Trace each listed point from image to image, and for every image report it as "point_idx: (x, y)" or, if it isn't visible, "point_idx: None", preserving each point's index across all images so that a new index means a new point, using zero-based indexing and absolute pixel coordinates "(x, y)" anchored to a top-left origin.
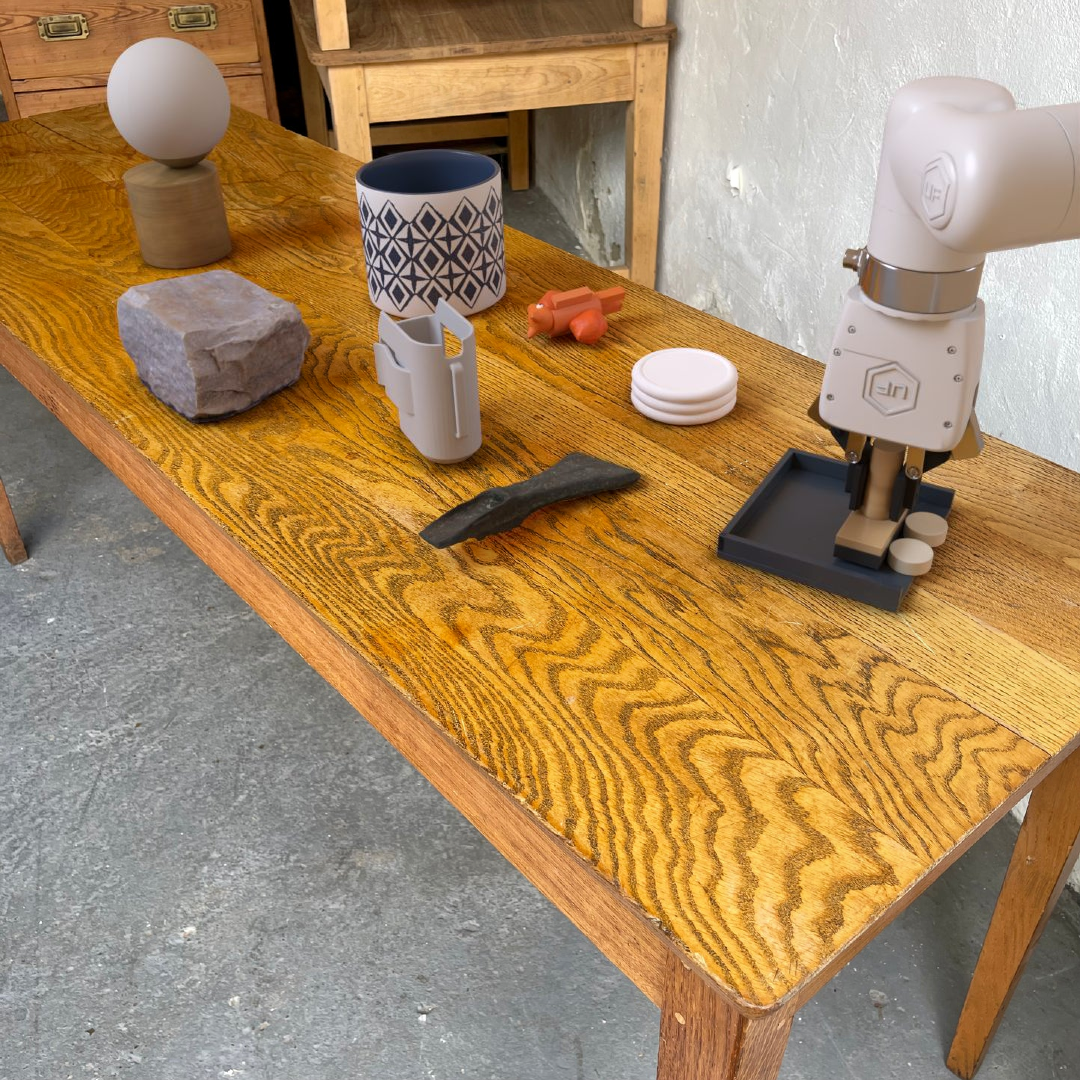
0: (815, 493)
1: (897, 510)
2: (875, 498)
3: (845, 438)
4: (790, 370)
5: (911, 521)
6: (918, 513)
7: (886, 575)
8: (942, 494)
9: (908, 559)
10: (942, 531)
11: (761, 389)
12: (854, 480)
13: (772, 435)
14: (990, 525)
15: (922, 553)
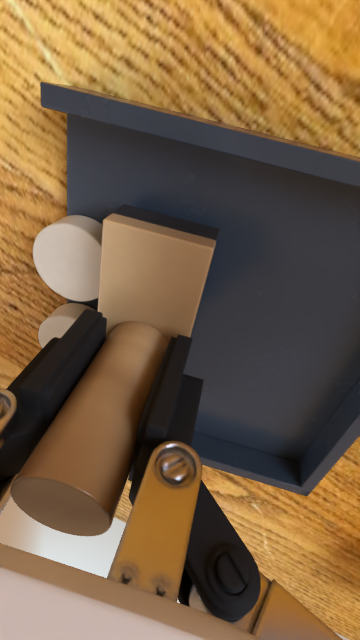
0: (259, 409)
1: (76, 324)
2: (128, 355)
3: (200, 537)
4: (290, 593)
5: None
6: None
7: (112, 203)
8: None
9: (67, 232)
10: (42, 328)
11: (329, 576)
12: (173, 392)
13: (320, 514)
14: (21, 371)
15: (51, 259)
